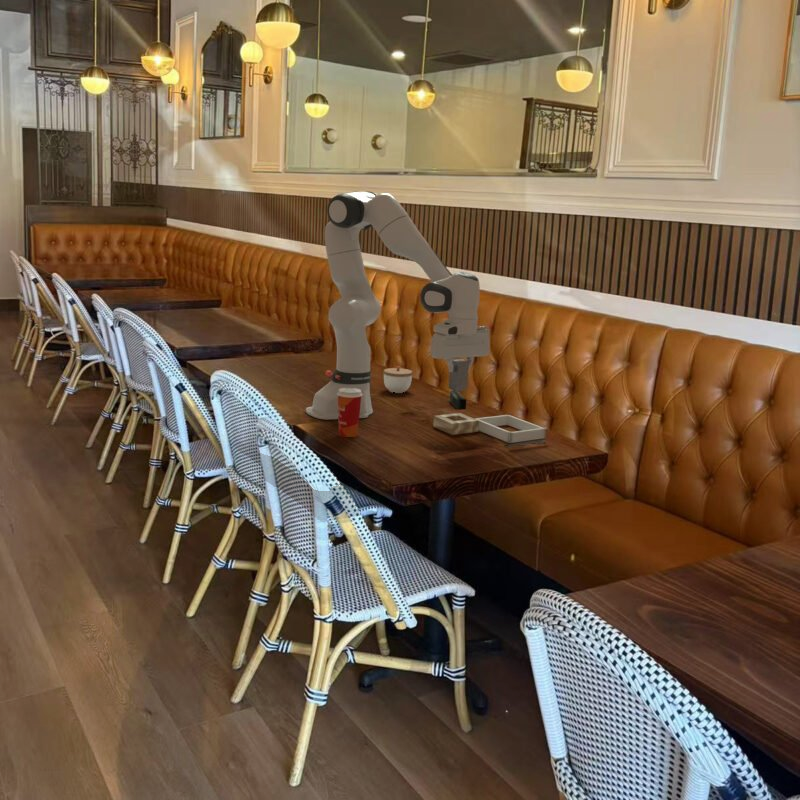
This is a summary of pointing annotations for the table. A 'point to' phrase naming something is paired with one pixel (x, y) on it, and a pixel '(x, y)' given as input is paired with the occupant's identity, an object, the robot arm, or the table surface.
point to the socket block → (456, 423)
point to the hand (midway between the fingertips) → (458, 371)
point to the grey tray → (527, 433)
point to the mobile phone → (457, 400)
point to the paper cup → (349, 411)
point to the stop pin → (459, 375)
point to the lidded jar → (397, 379)
